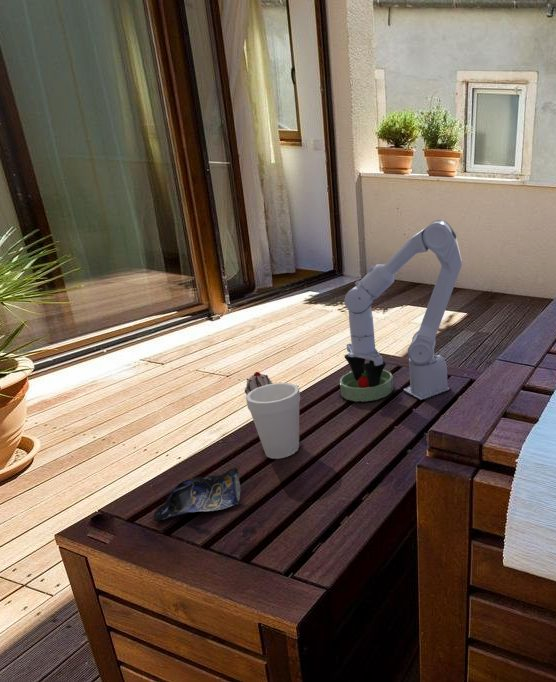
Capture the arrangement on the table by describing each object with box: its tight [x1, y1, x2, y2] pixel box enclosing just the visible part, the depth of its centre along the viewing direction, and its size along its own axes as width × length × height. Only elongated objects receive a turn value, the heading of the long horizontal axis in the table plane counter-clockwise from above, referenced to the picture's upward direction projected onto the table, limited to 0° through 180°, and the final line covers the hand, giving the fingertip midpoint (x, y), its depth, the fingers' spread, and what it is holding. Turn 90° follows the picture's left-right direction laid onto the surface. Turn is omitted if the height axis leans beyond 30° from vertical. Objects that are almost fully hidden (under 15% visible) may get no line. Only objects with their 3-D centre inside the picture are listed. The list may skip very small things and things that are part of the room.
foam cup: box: [245, 382, 301, 460], centre depth 94 cm, size 10×9×13 cm
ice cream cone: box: [244, 371, 274, 396], centre depth 100 cm, size 6×6×15 cm
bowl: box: [339, 369, 395, 402], centre depth 123 cm, size 13×13×4 cm
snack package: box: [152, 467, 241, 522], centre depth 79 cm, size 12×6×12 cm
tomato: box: [358, 372, 370, 388], centre depth 122 cm, size 4×4×5 cm
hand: (366, 383), depth 123 cm, fingers open, 7 cm apart
